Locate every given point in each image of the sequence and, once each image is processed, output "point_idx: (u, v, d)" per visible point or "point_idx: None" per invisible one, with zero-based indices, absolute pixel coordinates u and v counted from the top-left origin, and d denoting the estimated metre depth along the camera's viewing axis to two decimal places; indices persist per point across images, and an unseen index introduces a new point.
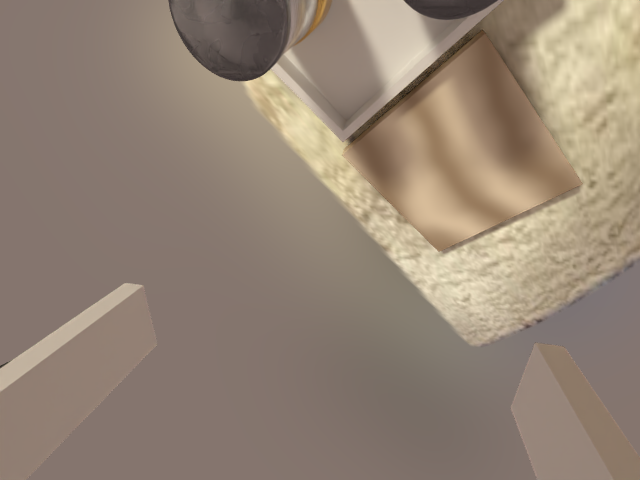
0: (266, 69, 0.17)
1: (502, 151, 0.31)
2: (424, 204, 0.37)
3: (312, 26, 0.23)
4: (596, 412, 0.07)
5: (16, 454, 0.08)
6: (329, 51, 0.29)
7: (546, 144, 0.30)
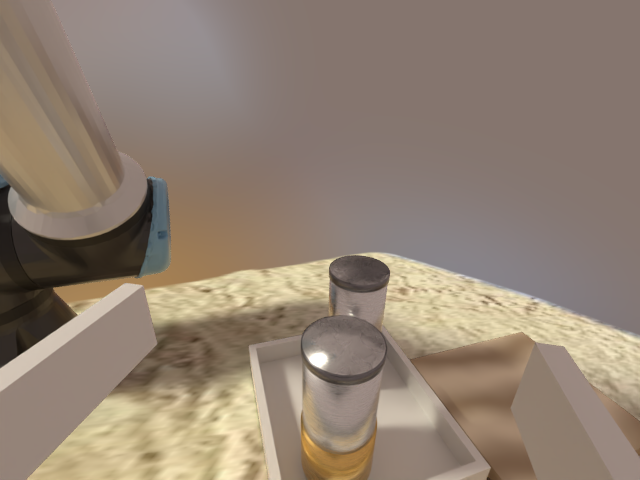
0: (383, 339, 0.24)
1: (498, 364, 0.39)
2: None
3: None
4: (596, 412, 0.07)
5: (16, 454, 0.08)
6: (393, 461, 0.29)
7: (491, 343, 0.43)
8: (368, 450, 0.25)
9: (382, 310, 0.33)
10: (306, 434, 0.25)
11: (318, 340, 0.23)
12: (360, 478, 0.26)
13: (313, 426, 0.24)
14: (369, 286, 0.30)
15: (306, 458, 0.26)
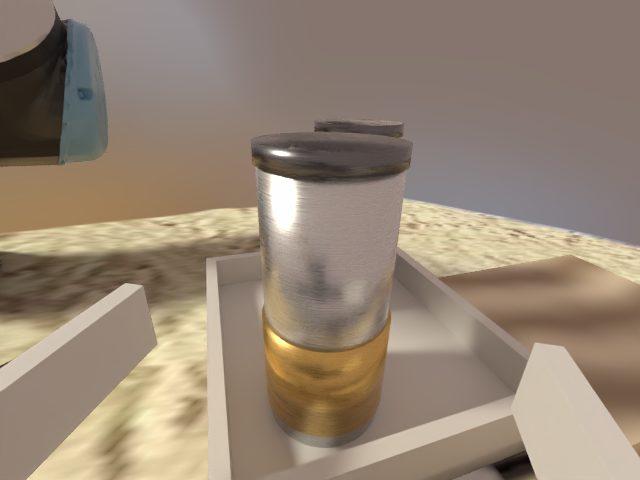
0: (404, 140, 0.13)
1: (549, 284, 0.29)
2: None
3: None
4: (596, 412, 0.07)
5: (16, 454, 0.08)
6: (415, 393, 0.18)
7: (533, 265, 0.32)
8: (377, 352, 0.14)
9: None
10: (268, 328, 0.15)
11: (285, 139, 0.13)
12: (362, 405, 0.15)
13: (277, 302, 0.13)
14: (374, 128, 0.20)
15: (271, 374, 0.15)
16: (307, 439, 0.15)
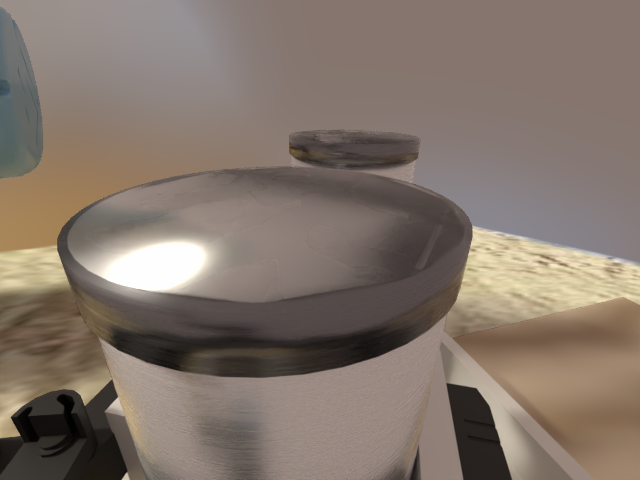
0: (441, 197, 0.06)
1: (607, 346, 0.22)
2: None
3: None
4: None
5: None
6: None
7: (580, 314, 0.25)
8: None
9: None
10: None
11: (178, 198, 0.06)
12: None
13: None
14: (376, 148, 0.13)
15: None
16: None
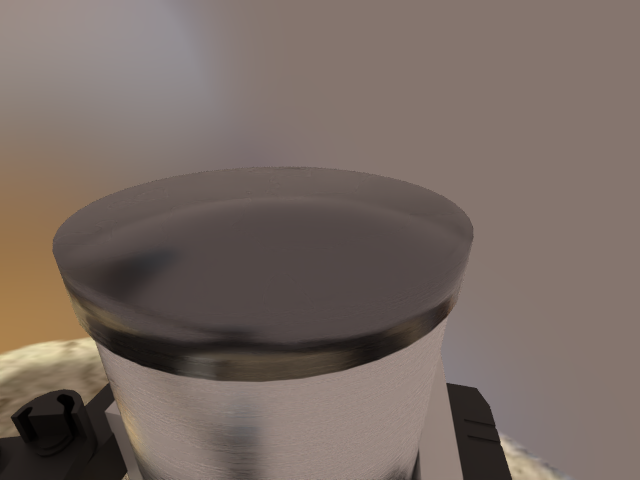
0: (441, 198, 0.06)
1: None
2: None
3: None
4: None
5: None
6: None
7: None
8: None
9: None
10: None
11: (176, 198, 0.06)
12: None
13: None
14: None
15: None
16: None
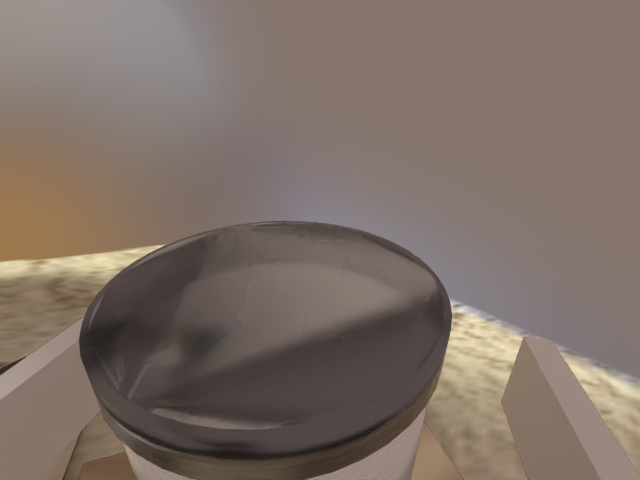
0: (427, 270, 0.06)
1: None
2: None
3: None
4: (580, 403, 0.07)
5: (32, 449, 0.08)
6: None
7: None
8: None
9: None
10: None
11: (184, 274, 0.06)
12: None
13: None
14: None
15: None
16: None
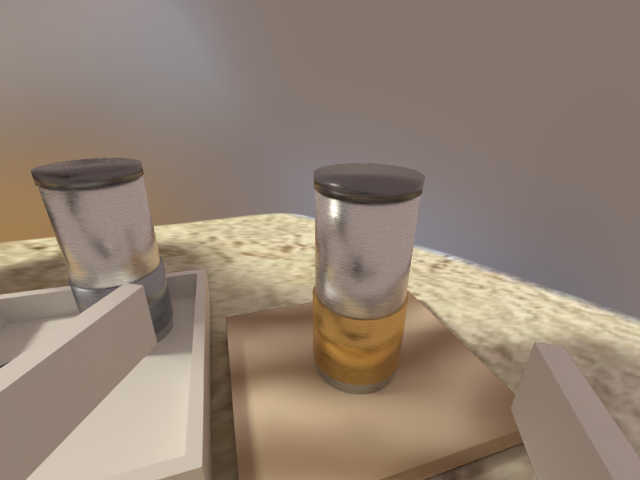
0: (417, 172, 0.19)
1: None
2: (413, 411, 0.20)
3: None
4: (596, 412, 0.07)
5: (16, 454, 0.08)
6: (86, 457, 0.18)
7: None
8: (398, 322, 0.20)
9: (126, 228, 0.22)
10: (320, 305, 0.20)
11: (336, 172, 0.18)
12: (387, 361, 0.20)
13: (330, 285, 0.19)
14: (68, 178, 0.19)
15: (320, 339, 0.21)
16: (346, 387, 0.21)
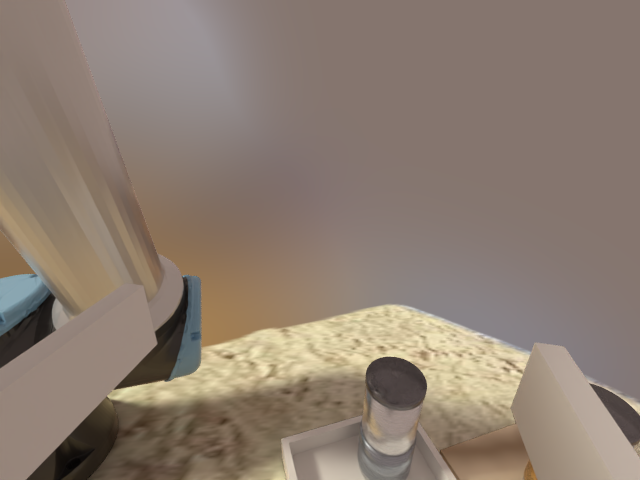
0: (627, 404, 0.30)
1: None
2: None
3: None
4: (596, 412, 0.07)
5: (16, 454, 0.08)
6: None
7: None
8: None
9: (418, 419, 0.33)
10: None
11: None
12: None
13: None
14: (409, 405, 0.31)
15: None
16: None
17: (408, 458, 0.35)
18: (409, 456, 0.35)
